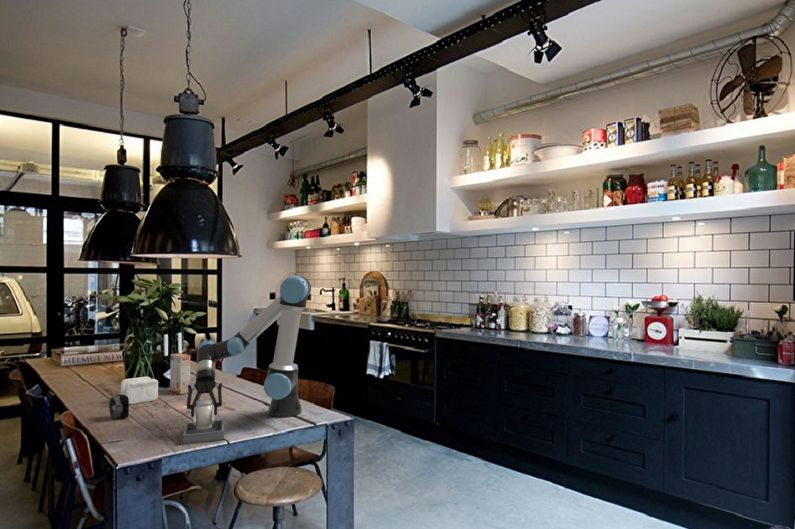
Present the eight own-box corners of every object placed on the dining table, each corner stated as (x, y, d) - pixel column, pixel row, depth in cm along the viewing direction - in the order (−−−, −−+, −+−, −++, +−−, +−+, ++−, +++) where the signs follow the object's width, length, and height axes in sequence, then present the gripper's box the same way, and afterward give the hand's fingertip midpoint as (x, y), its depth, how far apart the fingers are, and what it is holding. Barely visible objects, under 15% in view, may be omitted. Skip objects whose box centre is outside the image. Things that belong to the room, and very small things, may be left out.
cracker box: (190, 393, 271) (191, 355, 272) (179, 395, 267) (180, 356, 267) (180, 389, 281) (180, 352, 281) (169, 391, 277) (170, 353, 277)
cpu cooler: (108, 417, 225) (108, 394, 225) (122, 414, 229) (122, 392, 229) (115, 421, 217) (116, 398, 218) (129, 418, 222) (130, 396, 222)
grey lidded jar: (212, 425, 201) (212, 398, 201) (211, 429, 195) (212, 402, 196) (196, 427, 199) (196, 399, 199) (195, 431, 193) (195, 403, 194)
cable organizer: (151, 397, 262) (152, 375, 262) (158, 401, 254) (158, 378, 254) (120, 402, 252) (120, 379, 252) (126, 406, 244) (126, 382, 244)
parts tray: (223, 428, 207) (223, 419, 207) (223, 440, 192) (223, 431, 192) (186, 431, 202) (186, 423, 203) (183, 444, 187) (183, 435, 187)
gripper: (229, 376, 215) (229, 425, 199) (181, 379, 209) (178, 429, 193) (229, 366, 210) (229, 415, 195) (181, 369, 204) (177, 419, 188)
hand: (203, 422), depth 194 cm, fingers closed on grey lidded jar, 6 cm apart
